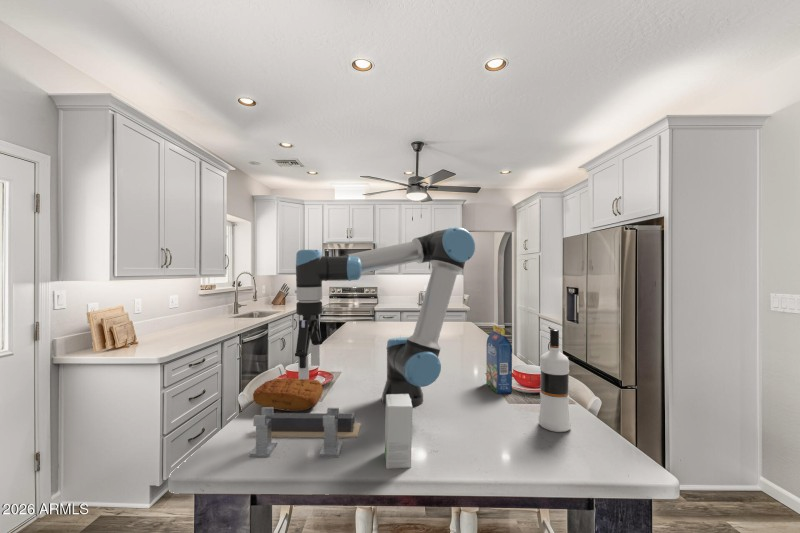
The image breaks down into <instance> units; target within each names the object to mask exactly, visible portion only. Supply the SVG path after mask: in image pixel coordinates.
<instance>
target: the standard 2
mask: <svg viewBox="0 0 800 533" xmlns="http://www.w3.org/2000/svg"><path fill="white" fill-rule="evenodd" d="M339 408H340V407H327V408H326V411H327V412H326V414H327V416H323V426H324V437H323V445H322V447H321V449H320V450H319V453H318V458H339V456H340V454H341V450H342V448H343V443H342V442H339V437H338V419H335V418H338V417H339V414H340V412H339Z"/></svg>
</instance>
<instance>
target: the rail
mask: <svg viewBox="0 0 800 533" xmlns="http://www.w3.org/2000/svg"><path fill="white" fill-rule="evenodd" d="M355 415H356V414H355V412H352V413H339V417H338V418H335V419H338V432H353V430H354V427H355V424H356V423H355V420H356V419H355V418H356V417H355ZM323 416H327V413H314V412H313V413H311V412H309V413H305V412H304V413H297V412H296V413H295V412H294V413H291V412H288V413H287V412H285V413H283V412H281V413H280V412H276V413H275V412H274V416H273V418H266V419H271V432H324V426H323Z"/></svg>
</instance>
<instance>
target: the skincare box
mask: <svg viewBox="0 0 800 533" xmlns="http://www.w3.org/2000/svg"><path fill="white" fill-rule="evenodd" d="M413 409H414V407H413V406H412V403H411V399H410V396H409V394H386V404H385V417H384V418H385V420H384V421H385V423H384V424H385V427H384V459H385V469H389V470H390V469H391V470H392V469H408V468H409V469H411V468H412V448H413V447H412V442H413V441H412V439H413Z"/></svg>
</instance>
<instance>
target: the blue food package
mask: <svg viewBox="0 0 800 533" xmlns="http://www.w3.org/2000/svg"><path fill="white" fill-rule="evenodd" d="M492 327H493V328H492V329H493V330H492V332H491V333H490V334H489V335H488V337H487V339H486V371H485V372H486V377H485V378H486V384H487V386H488V387H490V388H491V390H493V391H494V392H495V393H496V394H510V393H511V394H512V393H513V348H512V343H511V342H510V341H509V339H508V338H507V337H506V336H505V332H506V331H505V329H504V328H503V327H500V326H498V325H496V324H493V326H492Z"/></svg>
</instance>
